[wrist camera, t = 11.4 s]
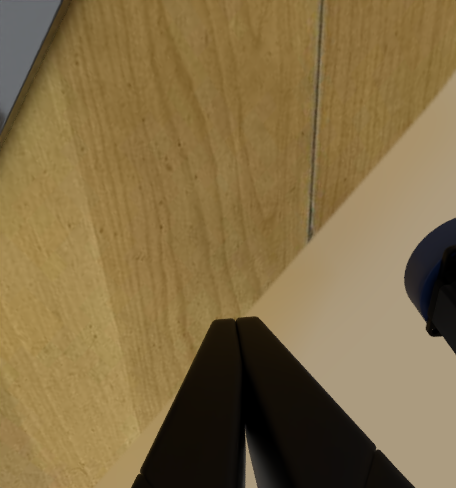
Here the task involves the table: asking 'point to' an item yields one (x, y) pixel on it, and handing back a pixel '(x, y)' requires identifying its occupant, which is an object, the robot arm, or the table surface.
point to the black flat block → (23, 50)
